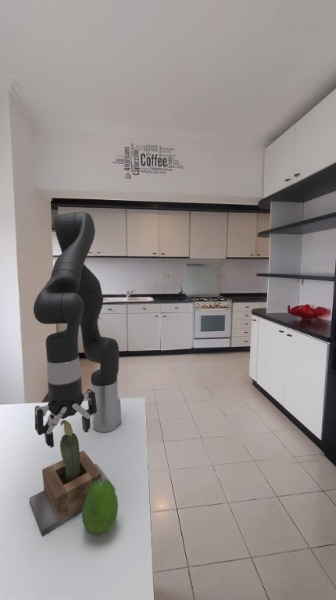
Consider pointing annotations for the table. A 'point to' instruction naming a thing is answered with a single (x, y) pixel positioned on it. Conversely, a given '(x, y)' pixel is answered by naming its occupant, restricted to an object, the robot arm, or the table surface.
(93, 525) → the avocado
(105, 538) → the table surface
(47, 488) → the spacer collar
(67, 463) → the vegetable
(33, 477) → the table surface
